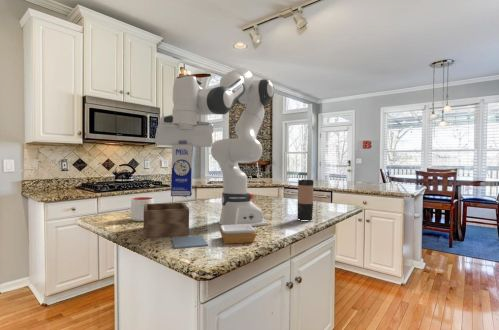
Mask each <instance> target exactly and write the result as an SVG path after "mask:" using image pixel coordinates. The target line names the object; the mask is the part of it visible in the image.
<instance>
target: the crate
mask: <svg viewBox="0 0 499 330" xmlns="http://www.w3.org/2000/svg"><path fill="white" fill-rule="evenodd" d="M142 230H143V232H142V233H143V239H151V238H152V239H153V238H165V237H180V236H181V237H182V236H189V235H190V208H189V207H188V206H187V204H185V202H162V203H158V202H157V203H154V204H144V221H143V229H142Z"/></svg>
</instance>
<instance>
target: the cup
mask: <svg viewBox="0 0 499 330" xmlns="http://www.w3.org/2000/svg"><path fill="white" fill-rule="evenodd" d="M144 204H155V203H154V198H153V197H147V196H145V197H144V196H143V197H142V196H140V197H132V198H131V199H130V219H131V220H132V221H135V222H144Z"/></svg>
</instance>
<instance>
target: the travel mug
mask: <svg viewBox="0 0 499 330" xmlns="http://www.w3.org/2000/svg"><path fill="white" fill-rule="evenodd" d="M296 206H297V220H298V219H300V220H312V221H313V214H314V211H313V210H314V179H301V180H300V179H298V180H297V205H296Z"/></svg>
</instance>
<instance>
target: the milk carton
mask: <svg viewBox="0 0 499 330" xmlns="http://www.w3.org/2000/svg"><path fill="white" fill-rule="evenodd" d="M193 156H194V147H193V144H187V141H185V140H180V141H179V144H172V146H171V176H170V177H171V180H170V181H171V183H170V197H192V194H193V167H194V166H193V164H194V162H193V161H194V157H193Z"/></svg>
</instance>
